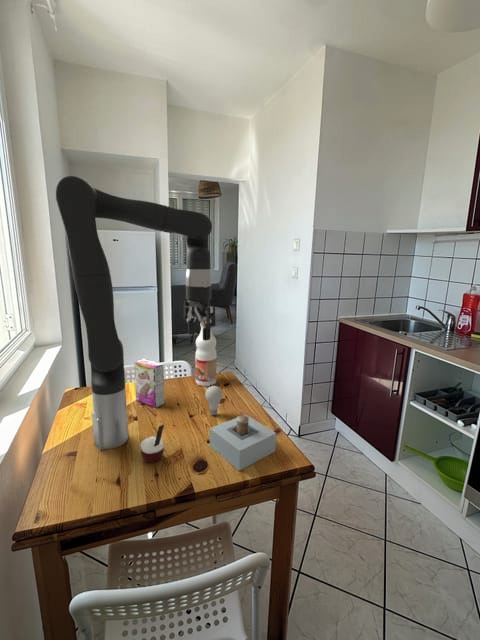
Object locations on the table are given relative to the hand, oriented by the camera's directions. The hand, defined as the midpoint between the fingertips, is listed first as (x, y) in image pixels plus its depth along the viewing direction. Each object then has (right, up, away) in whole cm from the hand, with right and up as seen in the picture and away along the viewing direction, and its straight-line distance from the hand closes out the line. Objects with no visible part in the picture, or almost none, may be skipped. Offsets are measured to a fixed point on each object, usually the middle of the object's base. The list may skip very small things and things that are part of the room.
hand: (198, 336), depth 97 cm
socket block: (+13, -34, -2) cm, 36 cm away
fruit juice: (-3, -23, +46) cm, 51 cm away
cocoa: (-12, -34, -8) cm, 37 cm away
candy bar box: (-22, -27, +26) cm, 44 cm away
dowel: (+13, -34, -2) cm, 36 cm away
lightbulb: (+3, -29, +17) cm, 34 cm away
